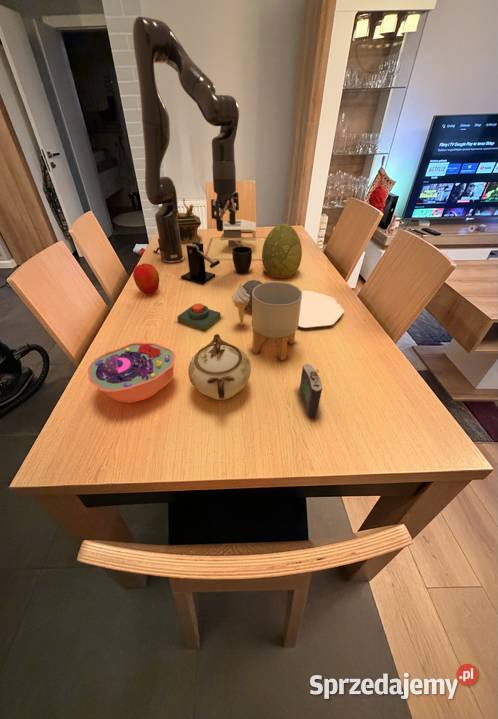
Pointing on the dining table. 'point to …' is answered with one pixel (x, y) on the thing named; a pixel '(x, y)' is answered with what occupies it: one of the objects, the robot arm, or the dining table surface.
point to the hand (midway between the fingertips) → (226, 227)
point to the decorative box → (188, 225)
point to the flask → (310, 390)
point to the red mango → (146, 278)
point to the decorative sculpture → (282, 252)
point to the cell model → (133, 371)
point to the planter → (275, 314)
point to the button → (198, 308)
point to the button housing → (199, 318)
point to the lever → (206, 257)
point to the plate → (318, 310)
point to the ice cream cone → (241, 301)
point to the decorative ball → (250, 290)
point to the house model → (236, 240)
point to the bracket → (196, 266)
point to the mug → (242, 259)
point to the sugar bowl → (219, 369)
